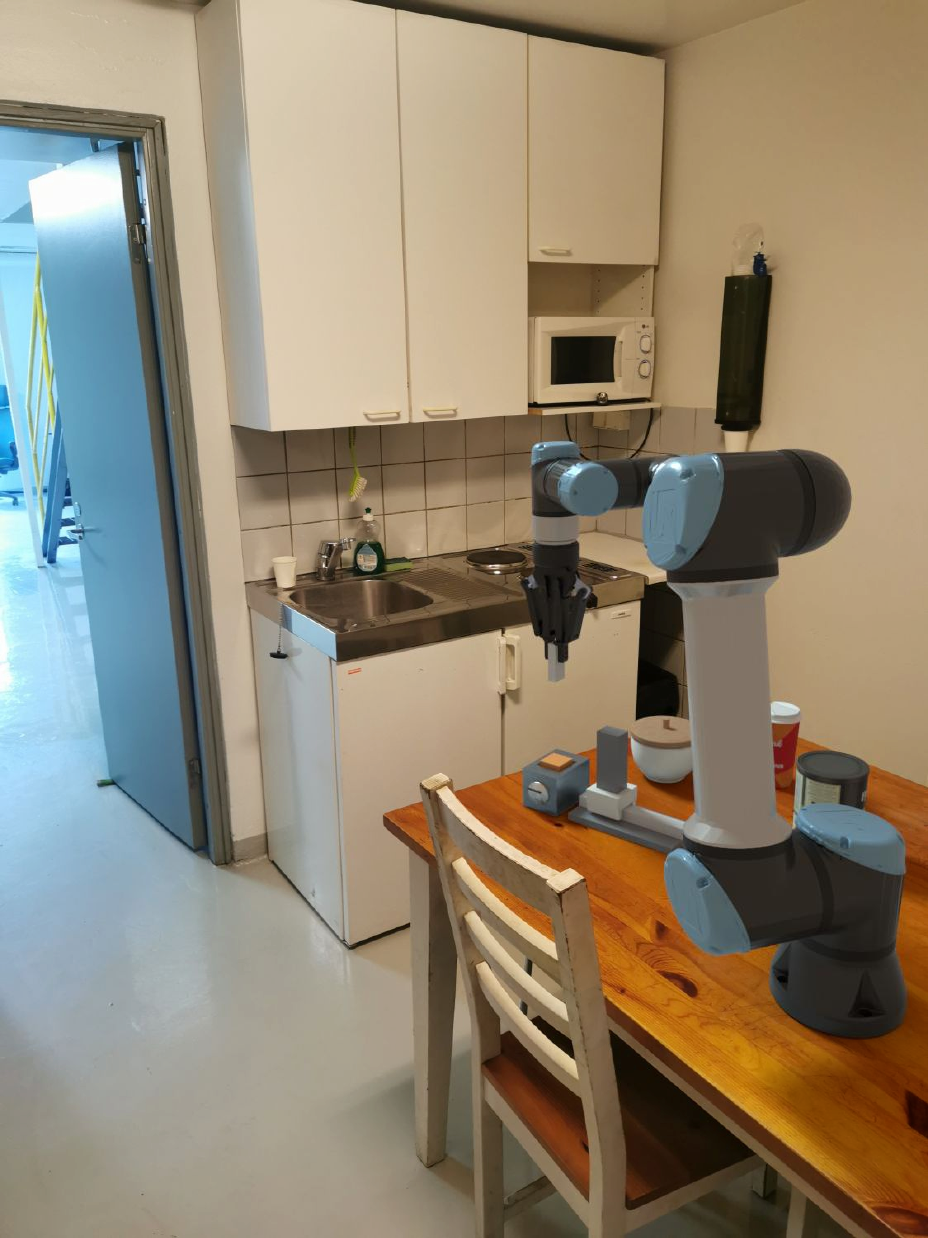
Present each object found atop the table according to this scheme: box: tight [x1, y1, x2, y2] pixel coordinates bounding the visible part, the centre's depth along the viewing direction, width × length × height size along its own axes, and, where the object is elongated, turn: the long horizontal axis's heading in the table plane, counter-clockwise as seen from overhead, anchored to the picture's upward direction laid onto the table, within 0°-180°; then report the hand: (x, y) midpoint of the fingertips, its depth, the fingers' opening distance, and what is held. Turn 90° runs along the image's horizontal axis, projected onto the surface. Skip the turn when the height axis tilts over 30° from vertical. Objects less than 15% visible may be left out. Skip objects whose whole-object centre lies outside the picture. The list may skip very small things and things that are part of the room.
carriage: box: [586, 725, 638, 821], centre depth 150 cm, size 6×6×14 cm
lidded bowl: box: [629, 715, 693, 784], centre depth 166 cm, size 13×13×11 cm
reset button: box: [540, 753, 573, 772], centre depth 158 cm, size 4×4×4 cm
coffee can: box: [792, 749, 871, 829], centre depth 140 cm, size 10×10×14 cm
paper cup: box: [771, 701, 803, 790], centre depth 162 cm, size 8×8×14 cm
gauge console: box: [522, 748, 591, 818], centre depth 158 cm, size 11×7×7 cm, turn 140°
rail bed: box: [567, 792, 687, 855], centre depth 150 cm, size 9×19×3 cm, turn 50°
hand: (556, 679), depth 153 cm, fingers closed
